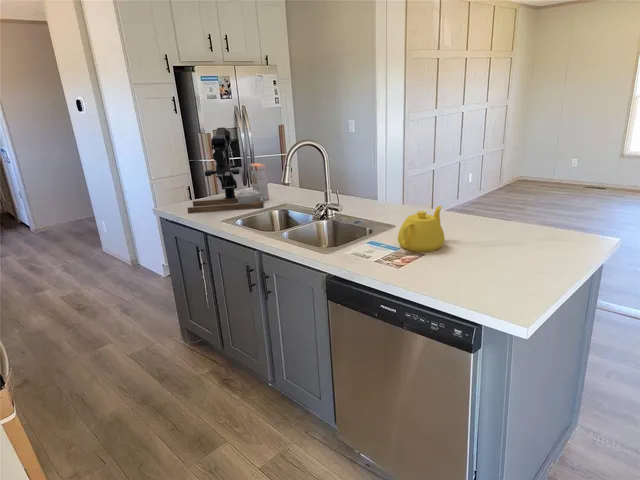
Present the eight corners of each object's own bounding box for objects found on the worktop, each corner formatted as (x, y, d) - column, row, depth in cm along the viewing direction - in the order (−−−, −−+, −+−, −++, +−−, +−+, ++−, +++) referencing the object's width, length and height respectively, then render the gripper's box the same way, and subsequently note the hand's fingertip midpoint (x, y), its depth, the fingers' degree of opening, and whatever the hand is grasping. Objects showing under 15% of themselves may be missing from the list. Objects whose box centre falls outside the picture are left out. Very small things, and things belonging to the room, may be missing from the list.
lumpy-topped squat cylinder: (263, 204, 248) (262, 189, 246) (246, 209, 239) (244, 194, 236) (251, 202, 255) (249, 188, 252) (234, 207, 245) (232, 192, 242)
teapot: (422, 233, 183) (422, 201, 179) (459, 241, 171) (461, 208, 166) (384, 248, 168) (384, 214, 163) (422, 258, 155) (423, 222, 151)
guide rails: (193, 206, 252) (192, 199, 250) (263, 201, 255) (263, 194, 254) (188, 213, 236) (187, 206, 235) (263, 208, 239) (262, 201, 238)
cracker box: (252, 197, 268) (249, 163, 261) (262, 196, 270) (259, 162, 263) (259, 201, 255) (256, 166, 249) (269, 200, 258) (266, 165, 251)
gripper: (201, 162, 228) (205, 191, 233) (236, 160, 230) (239, 189, 235) (204, 159, 239) (208, 187, 244) (238, 157, 241) (241, 185, 245)
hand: (224, 187), depth 242 cm, fingers closed
